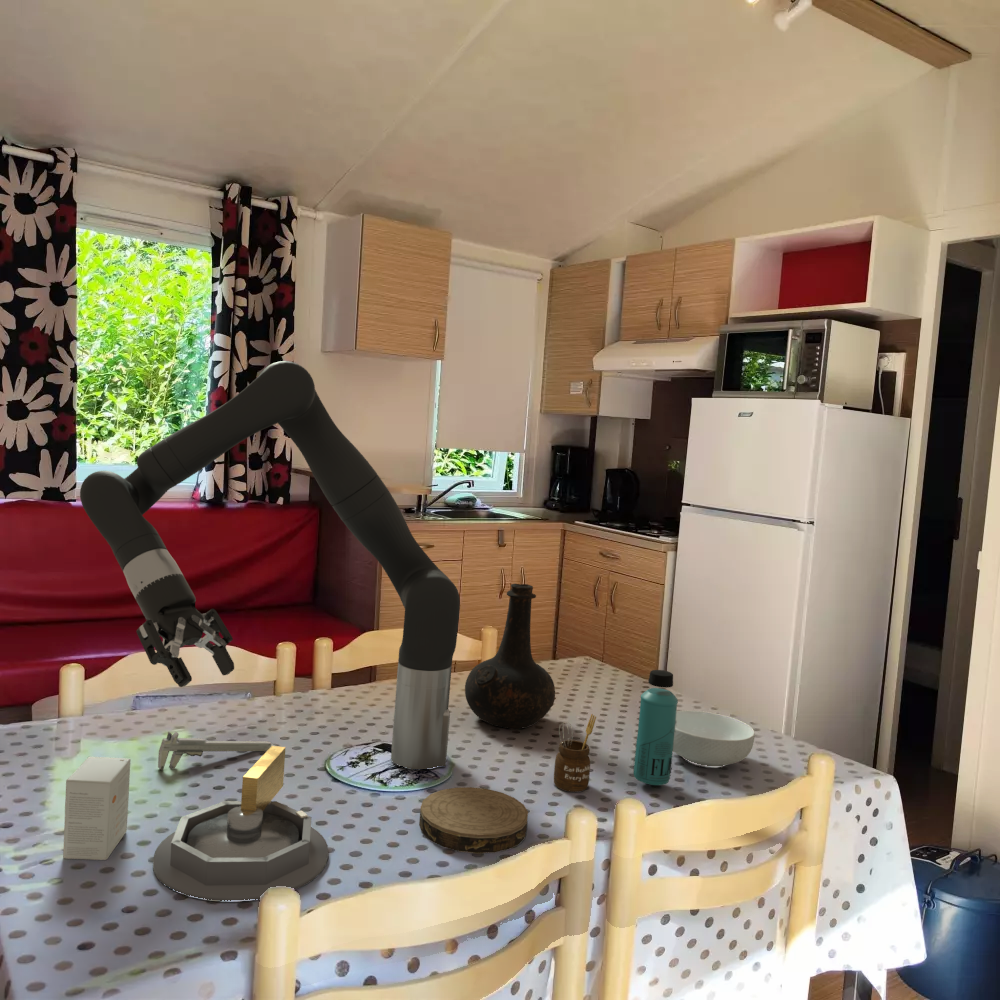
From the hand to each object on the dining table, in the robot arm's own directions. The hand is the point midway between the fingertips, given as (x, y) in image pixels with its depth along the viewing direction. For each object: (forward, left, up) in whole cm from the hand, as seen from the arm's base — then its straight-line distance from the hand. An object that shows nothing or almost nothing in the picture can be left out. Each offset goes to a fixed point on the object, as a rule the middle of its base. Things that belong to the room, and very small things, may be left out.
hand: (208, 678), depth 130 cm
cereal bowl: (-88, -19, -19) cm, 92 cm away
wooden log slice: (-40, +8, -19) cm, 45 cm away
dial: (-8, +14, -18) cm, 24 cm away
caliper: (-1, -17, -19) cm, 26 cm away
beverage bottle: (-73, -7, -19) cm, 75 cm away
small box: (+11, +13, -19) cm, 26 cm away
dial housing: (-8, +17, -19) cm, 26 cm away
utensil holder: (-59, -7, -19) cm, 62 cm away
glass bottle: (-54, -38, -19) cm, 68 cm away
